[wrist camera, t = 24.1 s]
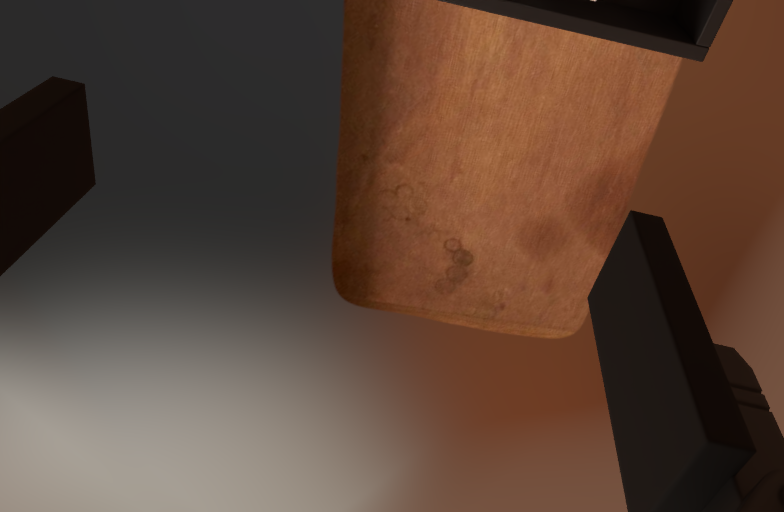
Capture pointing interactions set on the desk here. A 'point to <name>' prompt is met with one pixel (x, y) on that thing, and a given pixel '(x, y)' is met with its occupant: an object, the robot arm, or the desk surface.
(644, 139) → the desk surface
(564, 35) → the desk surface
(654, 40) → the basket
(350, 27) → the desk surface
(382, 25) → the desk surface
